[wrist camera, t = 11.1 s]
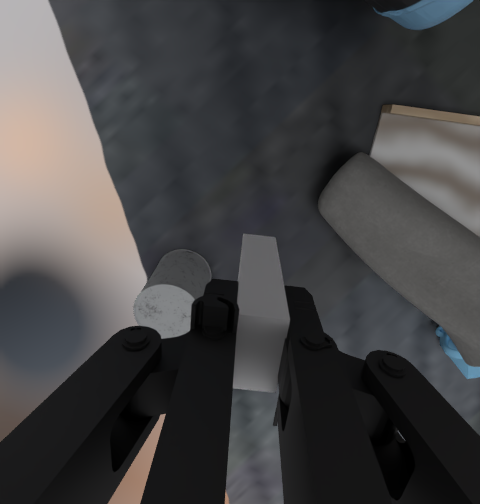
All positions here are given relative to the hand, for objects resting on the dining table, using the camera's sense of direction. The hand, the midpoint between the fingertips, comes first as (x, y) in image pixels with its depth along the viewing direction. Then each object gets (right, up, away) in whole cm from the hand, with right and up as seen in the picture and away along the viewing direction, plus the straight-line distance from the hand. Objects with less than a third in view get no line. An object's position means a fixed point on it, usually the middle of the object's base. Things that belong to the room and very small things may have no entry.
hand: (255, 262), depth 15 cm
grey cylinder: (-11, -3, +42) cm, 43 cm away
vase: (+13, +12, +30) cm, 34 cm away
